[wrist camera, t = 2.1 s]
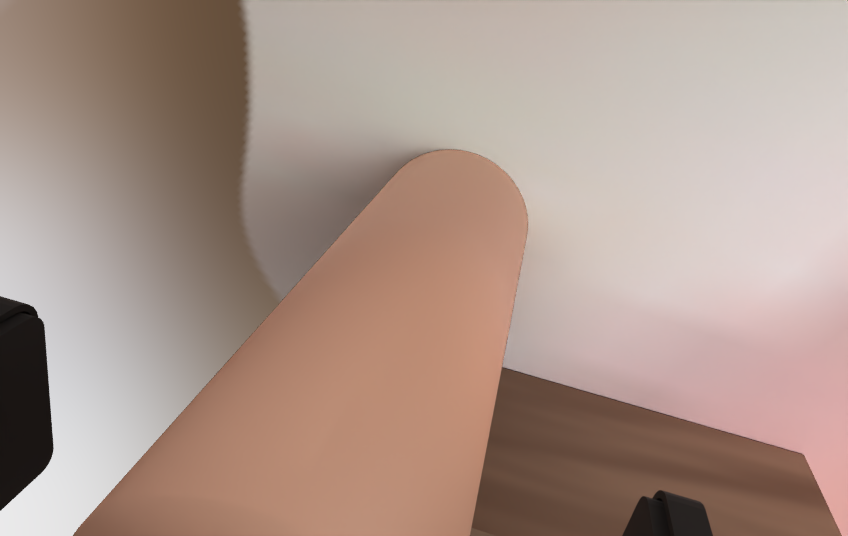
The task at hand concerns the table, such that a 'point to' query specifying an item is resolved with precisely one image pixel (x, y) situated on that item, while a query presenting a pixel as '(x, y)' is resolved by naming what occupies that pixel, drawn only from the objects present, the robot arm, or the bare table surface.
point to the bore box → (629, 469)
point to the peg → (354, 380)
